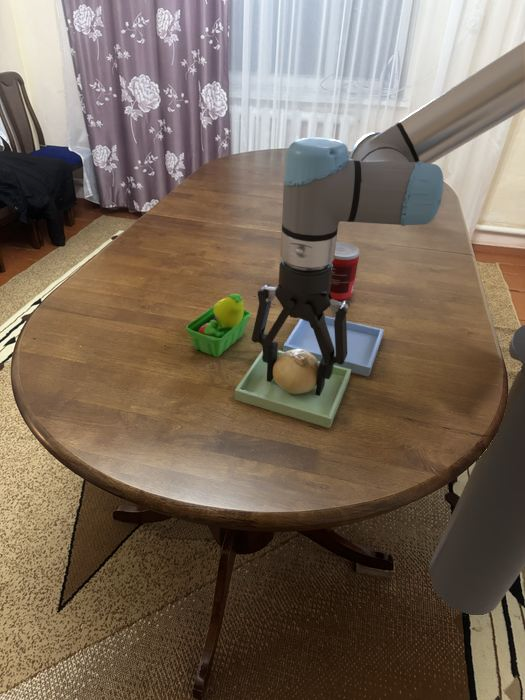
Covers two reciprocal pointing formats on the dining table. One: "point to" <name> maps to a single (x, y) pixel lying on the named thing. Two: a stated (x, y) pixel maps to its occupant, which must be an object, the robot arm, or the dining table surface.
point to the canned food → (344, 271)
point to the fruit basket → (219, 326)
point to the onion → (296, 371)
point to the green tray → (293, 405)
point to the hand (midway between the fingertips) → (295, 383)
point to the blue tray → (359, 344)
